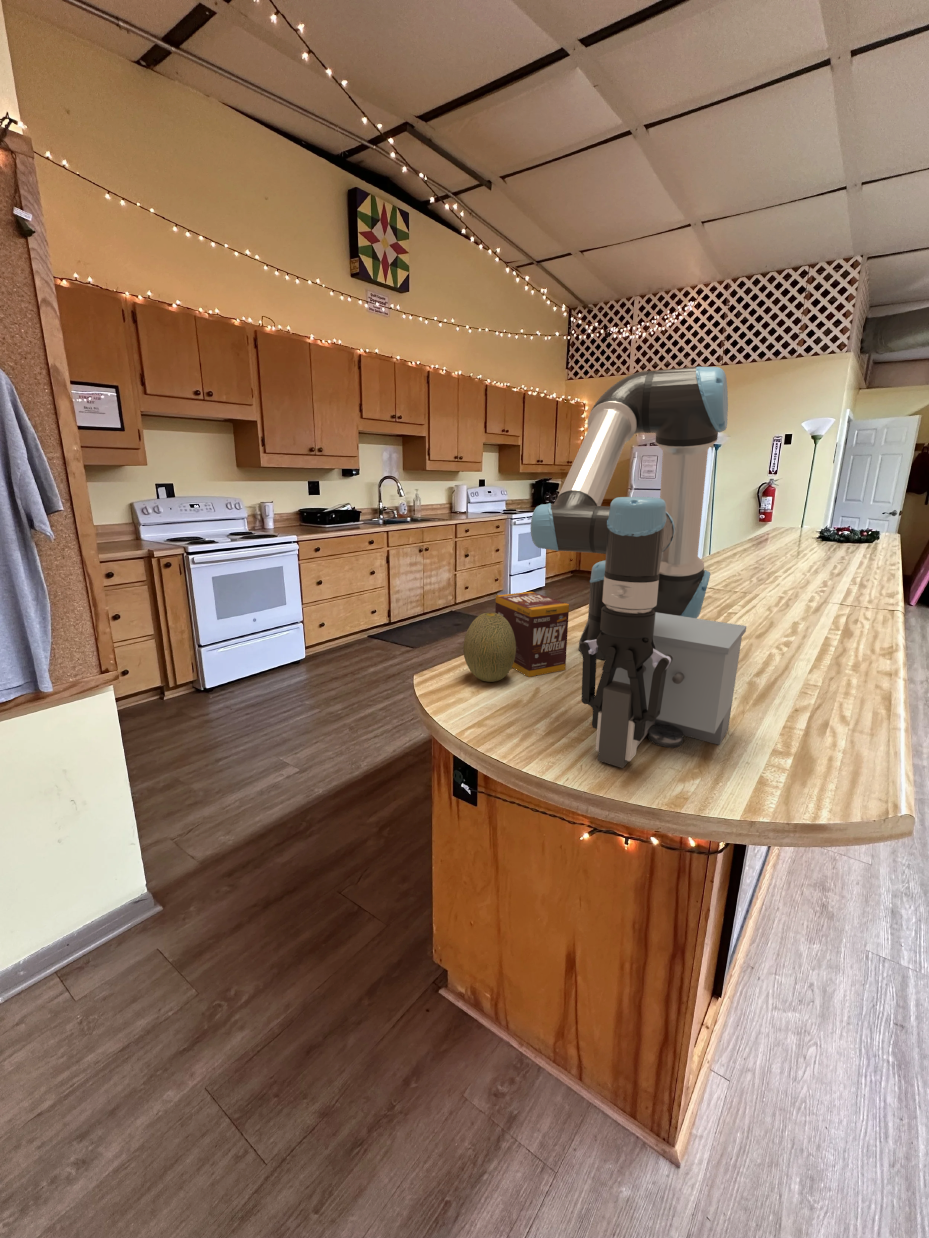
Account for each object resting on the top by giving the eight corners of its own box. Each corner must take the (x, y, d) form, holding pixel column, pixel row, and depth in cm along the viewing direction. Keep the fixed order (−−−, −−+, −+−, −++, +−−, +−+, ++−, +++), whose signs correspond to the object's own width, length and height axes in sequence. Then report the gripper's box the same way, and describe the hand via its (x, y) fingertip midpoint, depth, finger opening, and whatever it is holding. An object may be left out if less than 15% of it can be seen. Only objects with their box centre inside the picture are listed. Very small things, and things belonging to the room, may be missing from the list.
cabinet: (594, 733, 94) (602, 628, 89) (626, 703, 107) (635, 609, 102) (710, 767, 83) (727, 650, 78) (731, 729, 96) (746, 625, 91)
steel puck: (643, 741, 92) (644, 732, 91) (654, 729, 96) (655, 721, 96) (676, 751, 88) (677, 742, 88) (686, 739, 93) (687, 730, 92)
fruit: (452, 679, 118) (452, 612, 114) (486, 666, 126) (487, 603, 122) (492, 693, 111) (494, 623, 107) (526, 679, 119) (528, 612, 115)
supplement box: (528, 678, 119) (531, 609, 115) (493, 657, 132) (494, 594, 128) (566, 670, 124) (570, 604, 120) (528, 651, 137) (531, 590, 133)
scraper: (597, 760, 84) (603, 688, 81) (634, 720, 98) (640, 657, 95) (622, 768, 82) (629, 694, 79) (657, 726, 96) (664, 662, 92)
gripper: (563, 603, 80) (555, 745, 86) (682, 622, 71) (664, 781, 77) (584, 594, 86) (575, 728, 92) (697, 610, 77) (678, 759, 83)
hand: (615, 752), depth 85 cm, fingers closed on scraper, 4 cm apart
